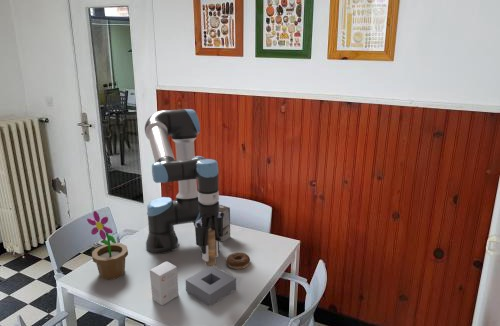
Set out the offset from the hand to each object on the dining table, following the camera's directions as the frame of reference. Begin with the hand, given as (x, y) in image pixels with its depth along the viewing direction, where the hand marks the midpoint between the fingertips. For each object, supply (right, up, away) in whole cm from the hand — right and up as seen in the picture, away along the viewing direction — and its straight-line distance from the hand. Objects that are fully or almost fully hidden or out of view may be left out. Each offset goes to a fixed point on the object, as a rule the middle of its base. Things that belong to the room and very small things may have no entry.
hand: (210, 257), depth 148 cm
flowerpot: (-43, -10, +16) cm, 47 cm away
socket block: (0, -14, +5) cm, 15 cm away
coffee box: (0, -1, +47) cm, 47 cm away
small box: (-17, -16, 0) cm, 23 cm away
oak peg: (0, -2, +1) cm, 3 cm away
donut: (+10, -9, +23) cm, 26 cm away
